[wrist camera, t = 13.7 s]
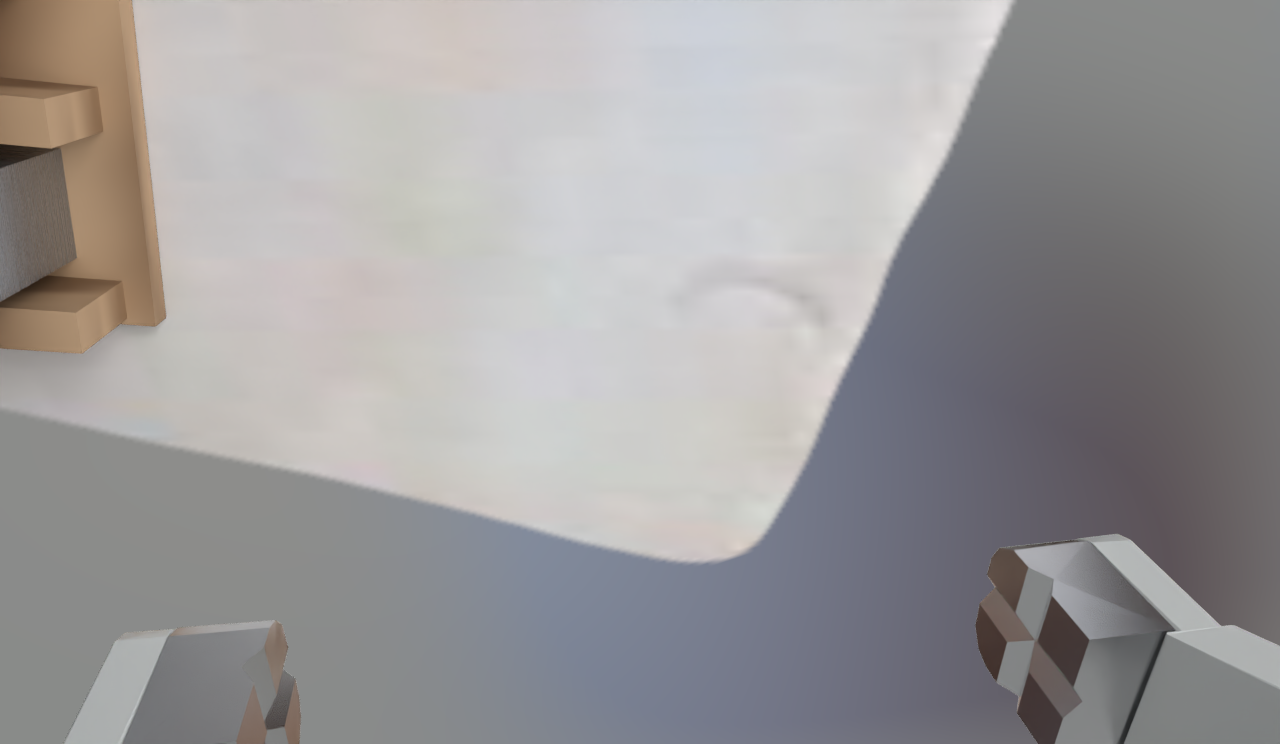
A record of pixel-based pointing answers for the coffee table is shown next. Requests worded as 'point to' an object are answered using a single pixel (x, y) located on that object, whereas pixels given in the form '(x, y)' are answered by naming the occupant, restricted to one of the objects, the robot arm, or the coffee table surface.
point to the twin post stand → (83, 168)
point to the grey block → (32, 216)
